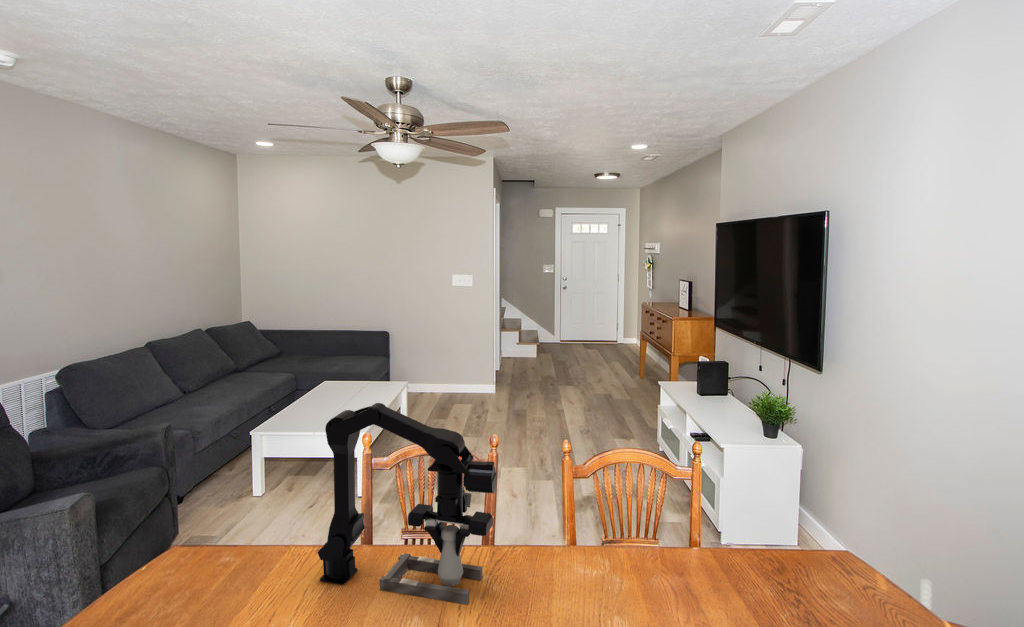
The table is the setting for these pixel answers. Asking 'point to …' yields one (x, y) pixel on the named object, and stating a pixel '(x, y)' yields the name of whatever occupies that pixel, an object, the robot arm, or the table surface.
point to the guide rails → (424, 589)
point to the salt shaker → (449, 558)
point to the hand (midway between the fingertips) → (450, 554)
